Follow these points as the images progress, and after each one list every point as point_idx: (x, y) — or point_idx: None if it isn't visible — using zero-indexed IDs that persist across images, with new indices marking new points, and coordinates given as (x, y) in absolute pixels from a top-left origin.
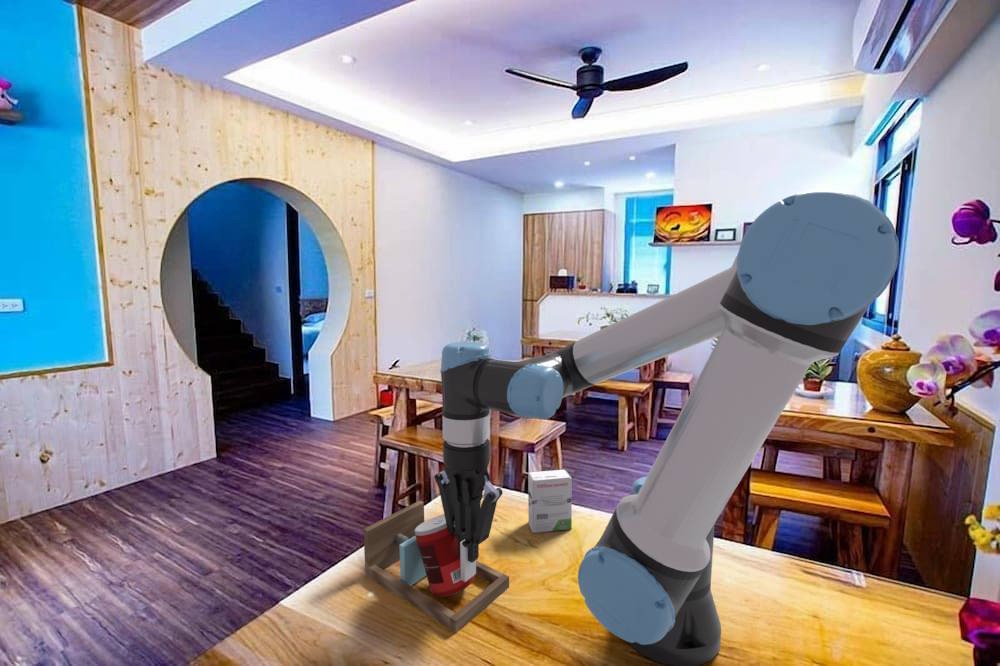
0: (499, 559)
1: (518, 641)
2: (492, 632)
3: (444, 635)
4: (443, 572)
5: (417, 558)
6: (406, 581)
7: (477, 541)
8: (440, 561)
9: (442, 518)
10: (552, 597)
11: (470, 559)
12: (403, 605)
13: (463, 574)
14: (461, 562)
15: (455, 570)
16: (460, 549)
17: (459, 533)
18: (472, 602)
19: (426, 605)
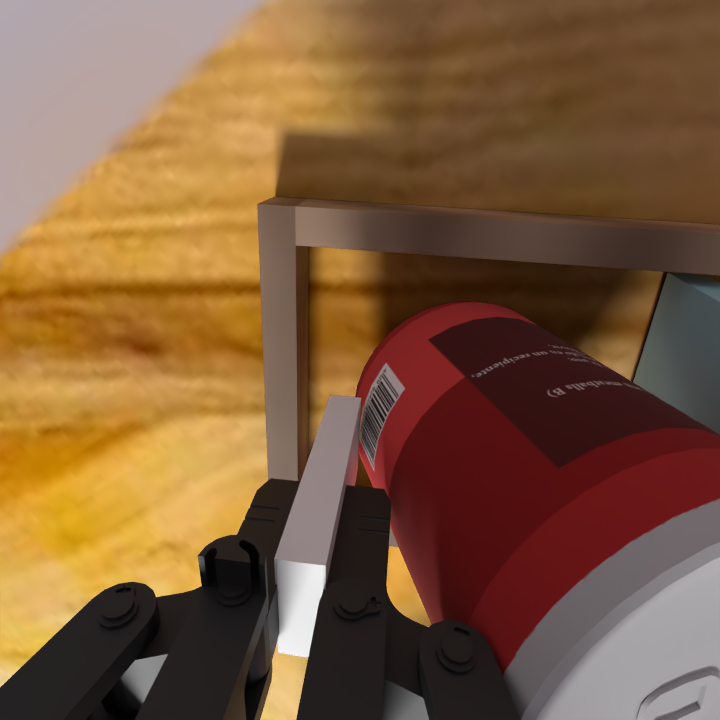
0: (409, 598)
1: (72, 300)
2: (169, 284)
3: (306, 154)
4: (440, 369)
5: (704, 413)
6: (684, 292)
7: (100, 611)
8: (469, 402)
9: None
10: (139, 521)
11: (281, 491)
12: (609, 189)
13: (337, 415)
14: (341, 457)
15: (388, 415)
16: (333, 519)
17: (328, 641)
18: (282, 341)
19: (465, 215)
